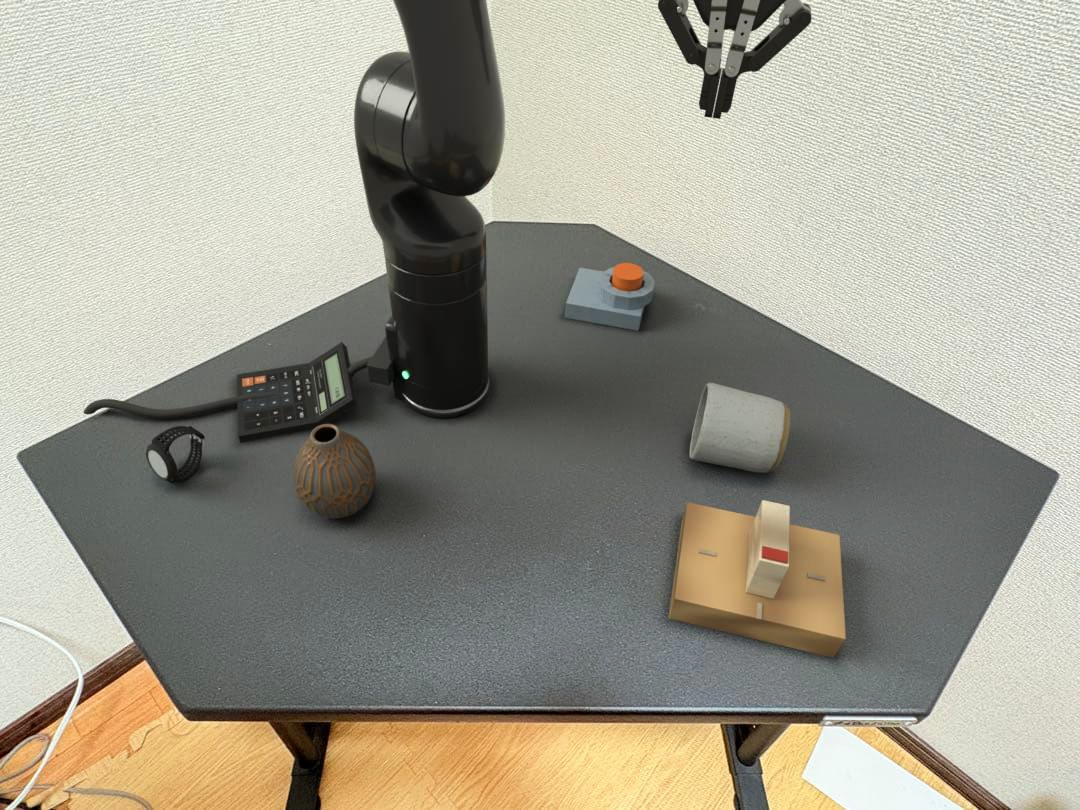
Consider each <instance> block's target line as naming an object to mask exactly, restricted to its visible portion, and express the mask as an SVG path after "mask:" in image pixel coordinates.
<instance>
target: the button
mask: <svg viewBox="0 0 1080 810" xmlns="http://www.w3.org/2000/svg"><path fill="white" fill-rule="evenodd" d="M613 267H614V269H613V276H612V285H613V286H614V287H615V288H617V289H618V290H623V291H628V292H631V291H637V290H639V289H640V288H641V286H642V281H643V274H644V272H643V271H644V269H643V268H642V267H641V266H639V265H637V264H635V263H631V262H623V263H622V262H621V263H618V264H616V265H615V266H613Z"/></svg>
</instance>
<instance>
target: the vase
mask: <svg viewBox="0 0 1080 810" xmlns="http://www.w3.org/2000/svg"><path fill="white" fill-rule="evenodd" d="M368 449H369V448H367V447H366V445H365V443H364V442H362V441H361V440H360V439H359V438H358V437H356V436H355V435H354V434H351V433H349V432H346V431H344V430H341V429H340V428H339V427H338V426H337V425H335V424H332V423H326V424H323V425H320V426H317V427H316V428H315V429H312V430H311V432H310V435H309V437H308V438H307V439H306V440H305V441H304V443H303V444H302V445H301V446H300V447H299V449H298V451H297V452H296V453H297V454H296V456H295V459H294V462H293V470H292V477H293V484H294V487H295V490H296V493H297V495H298V497H299V499H300V501H301V502H302V503H303V504H304V506H306V507H307V509H309V510H310V511H311V512H312V513H314V514H315V515H318V516H320V517H323V518H327V519H344V518H347V517H351V516H352V515H354V514H356V513H358V512H359V511H360V510H361V509H363V508H364V507H365V506H366V505H367V503H368V502H369V501H370V499H371V497H372V495H373V493H374V489H375V485H376V478H377V477H376V467H375V463H374V458H373V457H372V454H371V452H370V451H369V450H368Z"/></svg>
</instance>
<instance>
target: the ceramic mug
mask: <svg viewBox="0 0 1080 810" xmlns="http://www.w3.org/2000/svg"><path fill="white" fill-rule="evenodd" d="M790 428H791V412H790V409H789V407H788V406H787V404H785V403H784V402H782V401H780V400H777V399H775V398H772V397H769V396H767V395H766V396H765V395H762V394H757V393H753V392H748V391H744V390H740V389H738V388H734V387H729V386H726V385H721V384H718V383H714V382H707V383H706V384H705V386H704V387H703V390H702V393H701V395H700V399H699V403H698V407H697V411H696V415H695V419H694V422H693V428H692V433H691V440H690V445H689V458H690V459H691V460H693V461H698V462H702V463H708V464H712V465H717V466H723V467H728V468H734V469H738V470H743V471H747V472H753V473H764V474H765V473H771V472H773V471H774V470H776V469H777V468H778V467H779V465H780V463H781V461H782V459H783V457H784V454H785V451H786V447H787V445H788V440H789V436H790V435H789V434H790V430H791V429H790Z"/></svg>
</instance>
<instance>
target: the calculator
mask: <svg viewBox="0 0 1080 810" xmlns="http://www.w3.org/2000/svg"><path fill="white" fill-rule="evenodd" d="M350 361H351V360H350V355H349V351H348V346H347V345H346V344H344V342H342V341H341V342H339V343H338V344H336V345H335V346H333V347H332V348H330V349H329V350H326V351H325V352H324V353H322V354H321V355H319V356H318V357H316V358H315V359H312V361H310V362H308V363H301V364H294V365H288V366H282V367H276V368H270V369H264V370H257V371H251V372H250V371H249V372H244V373H238V374H236V397H237V396H242V395H248V394H254V393H263V392H278V393H283V394H282V395H279V396H274V397H267V398H259V399H252V400H246V401H240V402H237V437H238V440H239V442H240V443H245V442H250V441H256V440H262V439H266V438H273V437H276V436H277V437H278V436H283V435H289V434H295V433H299V432H304V431H310V430H311V431H312V430H314V429H315V428H316V427H317V426H320V425H323V424H329V422H331V421H333V420H335V419H336V418H338V417H339V416H341V415H343V414H344V413H346V412H347V411H349V410H351V409H352V408H354V407H356V406H357V405H358V403H359V402H358V398H357V393H356V389H355V387H356V386H355V383H354V376H353V377H352V376H351V375H350V374H349V373H348V370H347V369H348V368H349V367H350V366H351V362H350Z"/></svg>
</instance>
